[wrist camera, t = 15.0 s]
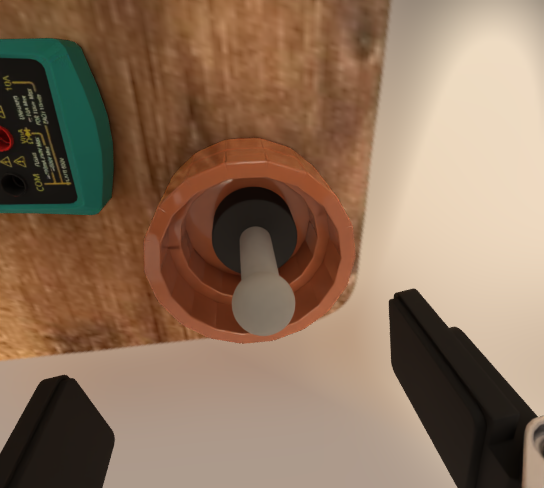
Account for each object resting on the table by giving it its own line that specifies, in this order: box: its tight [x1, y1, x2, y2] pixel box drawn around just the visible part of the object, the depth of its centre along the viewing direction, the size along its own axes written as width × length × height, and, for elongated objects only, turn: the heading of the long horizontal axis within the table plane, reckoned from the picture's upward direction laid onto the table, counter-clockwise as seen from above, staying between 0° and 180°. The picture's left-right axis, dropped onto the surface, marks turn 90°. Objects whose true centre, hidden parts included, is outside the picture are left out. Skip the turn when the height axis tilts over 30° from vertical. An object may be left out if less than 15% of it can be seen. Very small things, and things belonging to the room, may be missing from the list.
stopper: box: [212, 187, 297, 336], centre depth 16 cm, size 4×4×8 cm
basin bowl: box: [144, 138, 356, 344], centre depth 18 cm, size 9×10×5 cm
